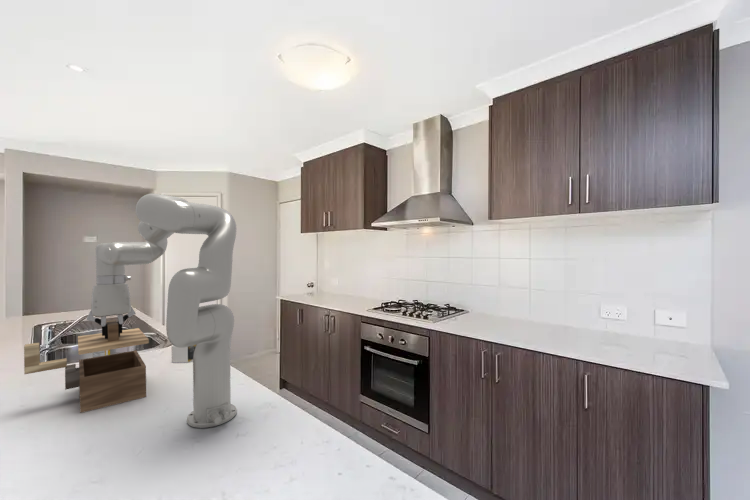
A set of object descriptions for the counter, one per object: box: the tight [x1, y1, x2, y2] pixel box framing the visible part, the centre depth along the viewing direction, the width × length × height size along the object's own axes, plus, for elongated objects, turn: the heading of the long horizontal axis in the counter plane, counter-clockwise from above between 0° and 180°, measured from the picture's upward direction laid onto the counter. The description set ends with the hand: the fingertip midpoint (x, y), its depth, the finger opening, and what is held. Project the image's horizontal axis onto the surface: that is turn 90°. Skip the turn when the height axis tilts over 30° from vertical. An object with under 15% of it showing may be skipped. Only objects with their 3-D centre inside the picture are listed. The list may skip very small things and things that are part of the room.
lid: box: [77, 319, 150, 356], centre depth 112 cm, size 23×17×6 cm
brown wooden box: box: [64, 349, 147, 414], centre depth 112 cm, size 22×19×11 cm
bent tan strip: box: [23, 342, 68, 375], centre depth 102 cm, size 3×9×8 cm, turn 131°
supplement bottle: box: [92, 350, 111, 358], centre depth 138 cm, size 6×6×10 cm
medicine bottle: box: [171, 344, 197, 364], centre depth 146 cm, size 7×7×12 cm
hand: (112, 336), depth 112 cm, fingers closed on lid, 2 cm apart
